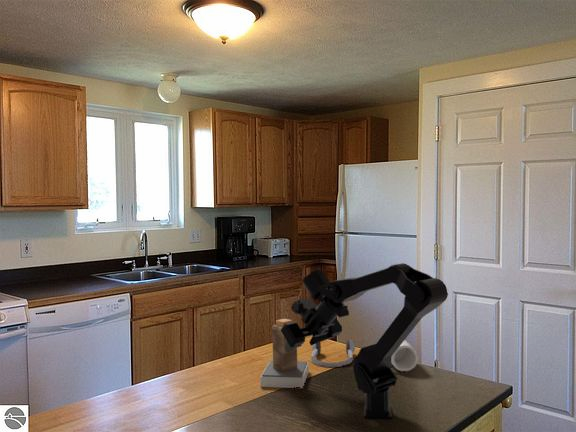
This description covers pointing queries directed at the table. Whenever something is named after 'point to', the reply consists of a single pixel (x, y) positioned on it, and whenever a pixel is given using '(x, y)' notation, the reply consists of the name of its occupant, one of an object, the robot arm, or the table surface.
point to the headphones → (349, 350)
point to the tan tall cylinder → (282, 352)
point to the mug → (404, 357)
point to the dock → (284, 376)
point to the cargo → (282, 322)
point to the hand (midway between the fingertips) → (298, 347)
